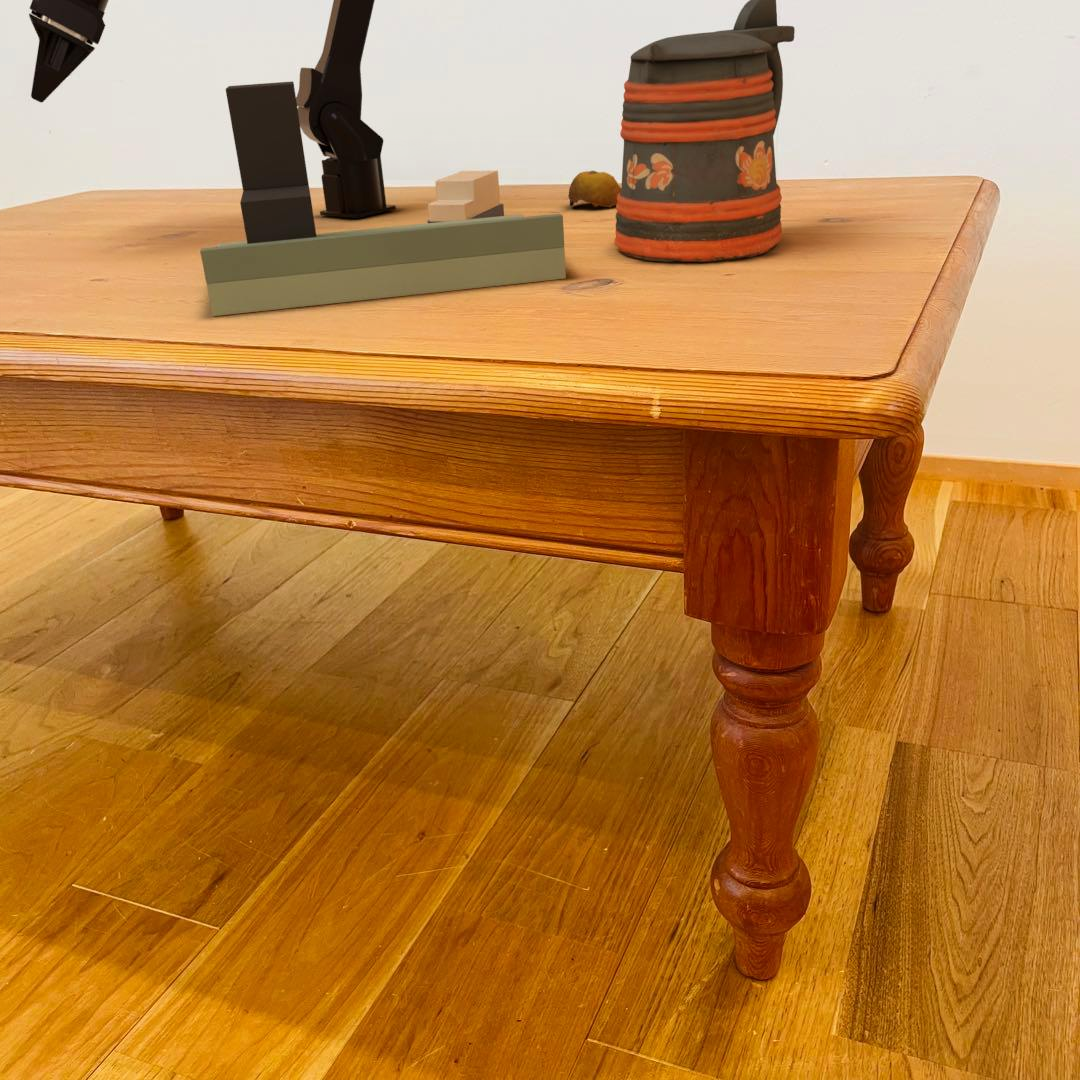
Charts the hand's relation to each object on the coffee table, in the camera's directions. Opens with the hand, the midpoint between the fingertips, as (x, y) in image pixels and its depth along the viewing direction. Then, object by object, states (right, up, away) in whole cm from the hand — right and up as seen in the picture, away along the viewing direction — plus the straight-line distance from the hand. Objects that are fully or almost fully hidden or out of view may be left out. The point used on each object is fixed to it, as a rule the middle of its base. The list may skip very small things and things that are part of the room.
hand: (36, 98), depth 108 cm
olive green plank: (+37, -22, -15) cm, 46 cm away
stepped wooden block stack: (+43, -12, +4) cm, 45 cm away
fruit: (+58, -7, +12) cm, 60 cm away
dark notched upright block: (+29, -19, -15) cm, 38 cm away
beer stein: (+66, -18, -11) cm, 69 cm away
